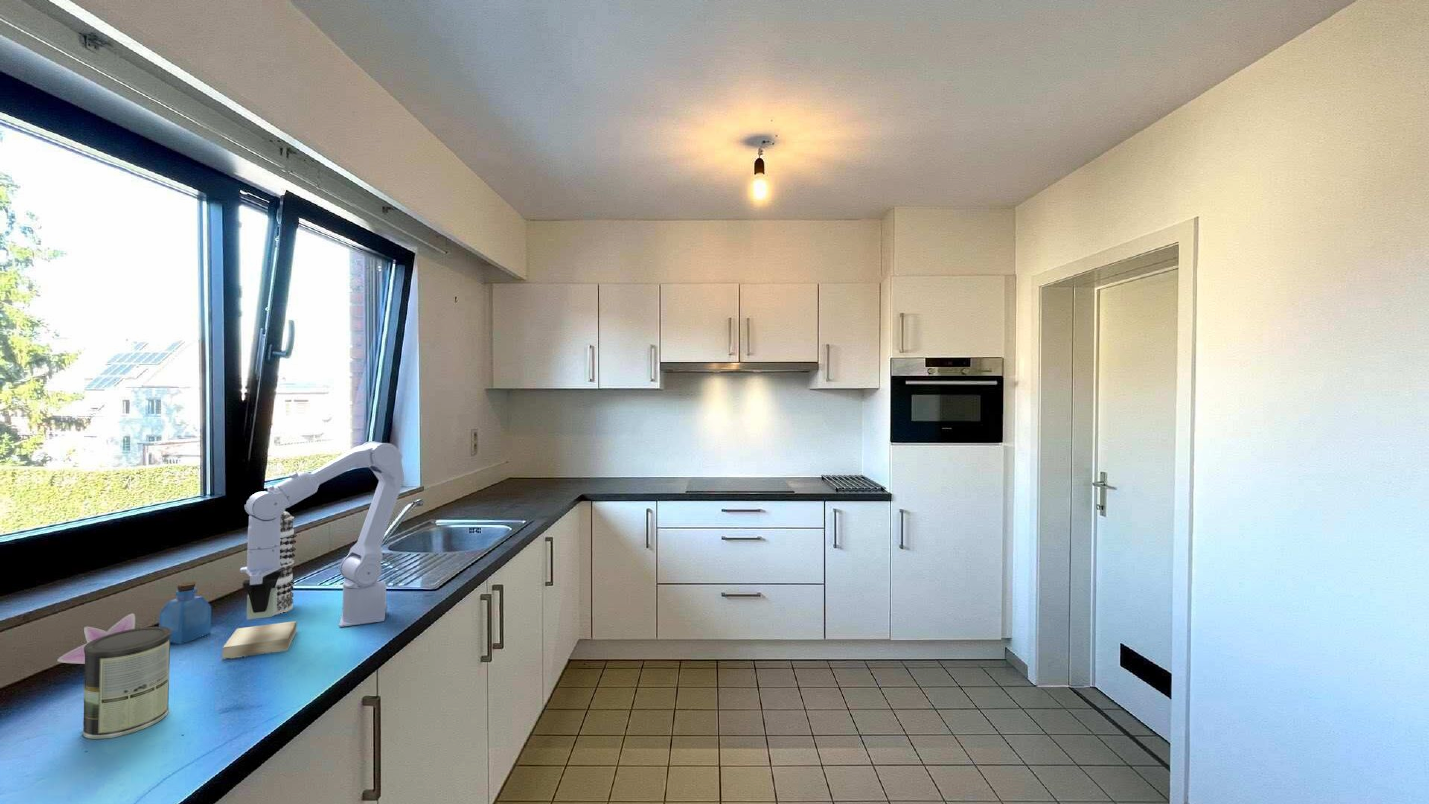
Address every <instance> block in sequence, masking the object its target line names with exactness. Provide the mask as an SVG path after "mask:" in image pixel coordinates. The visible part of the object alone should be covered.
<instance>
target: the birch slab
mask: <svg viewBox="0 0 1429 804" xmlns="http://www.w3.org/2000/svg"><path fill="white" fill-rule="evenodd" d="M296 633H297V621H295V620H294V621H288V622H287V621H286V622H285V621H284V622H278V623H270V624H263V625H262V624H261V625H255V626H248V627H238V628H236V629H235V631H234V632H233V633H232V635H231V636H230V637H229V639H227V641H226V643H224V645H223V647H222V659H223V660H225V659H224V658H230V659H237V658H242V656H244V657H247V656H246V655H251V656H257V654H258V655H263V654H264V653H265V654H271V652H272V653H278V652H285V651H288V649H289V647H290V645H291V643H292V641H293V640H294V638H295V636H296ZM236 657H237V658H236Z"/></svg>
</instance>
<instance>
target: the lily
mask: <svg viewBox="0 0 1429 804" xmlns="http://www.w3.org/2000/svg"><path fill="white" fill-rule="evenodd" d="M130 629H136V615H135V613H134V612H133V613H130V614H127V615H126V616H124V617H122V618H121V619H120V620H119V621H118V622H116V623H115V624H114V625H112V626H111V627H110V628H109V629H108V630H103V629H101V628H97V627H93V626H84V628H83V632H84V636H85V640H86V643H85V644H81V645H80V646H78V647H75V648H74V649H72V650H69V651H68V652H66V653H64V654H63V655H62V656H60V657H58V658H57V662H58V663H63V664H64V663H65V664H80V665H81V664H82V665H83V664H84V665H85V653H84V647H85V645H86V644H88V643H89V642H91V641H93V640H95V639H98V638H100V637H103V636H106V635H109V634H112V633H116V632H120V631H125V630H130Z"/></svg>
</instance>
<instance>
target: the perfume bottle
mask: <svg viewBox="0 0 1429 804" xmlns="http://www.w3.org/2000/svg"><path fill="white" fill-rule="evenodd" d="M196 583H197V582H195V581H189V582H182V583H178V584H177V585H176V587H177V590H176V591H175V596H176V597H177V598H174V599H171V600H168V602H167V603H166V604H165V605H164V606H163V608H162V609H161V611H160V612H159V618H158V620H159V622H158V627H166V628H169V629H170V630H171V636H170V642H174V643H173V644H177V643H179V644H178V645H183V644H185V643H187V642H186V641H188V642H190V640H191V641H193V640H195V639H194V638H196V639H199V638H201V636H202V635H204V636H207V635H209V634H208V633H210V634H211V629H212V624H211V623H212V606H211V605H210V603H209V602H208V601H207V600H206V599H205V598H204V596H198V595H195V594H196V593H197V589H198V588H197V587H196ZM206 634H207V635H206ZM198 637H199V638H198ZM202 637H203V636H202ZM192 639H193V640H192ZM184 642H185V643H184Z"/></svg>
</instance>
